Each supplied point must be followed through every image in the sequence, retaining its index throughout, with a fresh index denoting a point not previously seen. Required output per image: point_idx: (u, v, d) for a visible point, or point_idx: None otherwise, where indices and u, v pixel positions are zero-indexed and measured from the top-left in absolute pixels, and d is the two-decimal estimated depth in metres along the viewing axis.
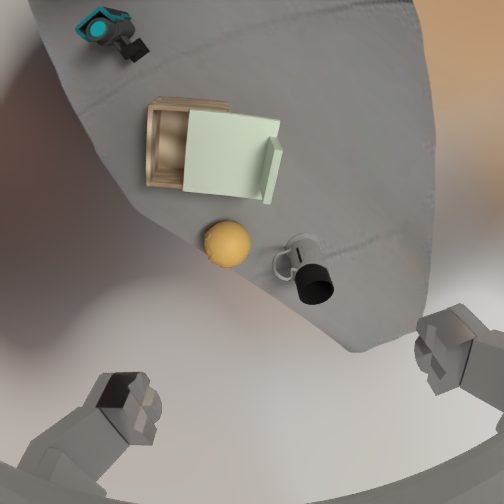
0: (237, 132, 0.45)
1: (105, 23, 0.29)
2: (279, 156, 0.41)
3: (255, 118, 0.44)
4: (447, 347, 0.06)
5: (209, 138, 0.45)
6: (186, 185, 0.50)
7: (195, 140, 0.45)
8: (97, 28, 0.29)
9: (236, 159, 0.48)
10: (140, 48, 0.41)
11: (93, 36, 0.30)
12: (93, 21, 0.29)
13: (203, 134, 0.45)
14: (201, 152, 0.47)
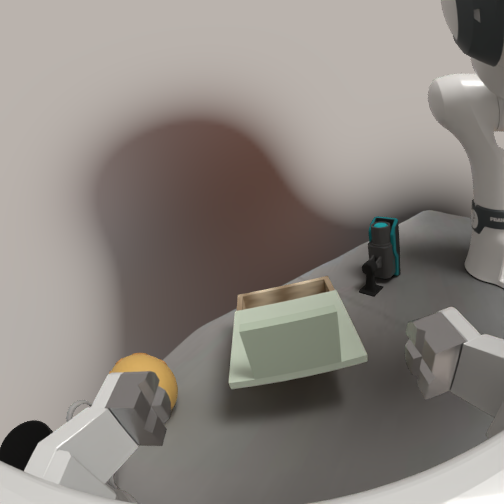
0: None
1: (386, 226, 0.53)
2: (326, 311, 0.26)
3: (355, 333, 0.32)
4: (436, 351, 0.06)
5: None
6: (243, 311, 0.42)
7: (303, 302, 0.40)
8: (381, 224, 0.54)
9: None
10: (374, 287, 0.54)
11: (374, 225, 0.54)
12: (385, 222, 0.54)
13: (312, 305, 0.39)
14: (289, 310, 0.39)
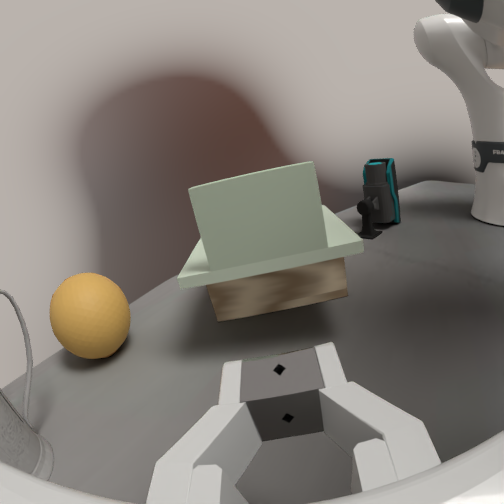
0: None
1: (381, 164, 0.47)
2: (299, 163, 0.20)
3: (346, 226, 0.25)
4: (283, 393, 0.06)
5: None
6: None
7: None
8: (375, 163, 0.48)
9: None
10: (371, 230, 0.48)
11: (368, 164, 0.49)
12: (380, 162, 0.49)
13: None
14: None
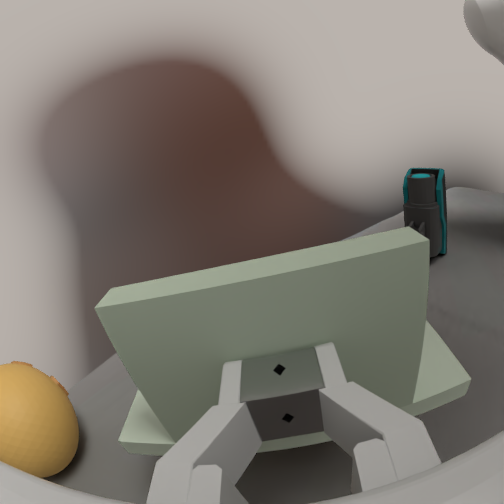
0: None
1: (430, 177, 0.32)
2: (392, 242, 0.07)
3: (429, 327, 0.12)
4: (283, 393, 0.06)
5: None
6: None
7: None
8: (421, 175, 0.33)
9: None
10: None
11: (411, 177, 0.34)
12: (426, 174, 0.34)
13: None
14: None
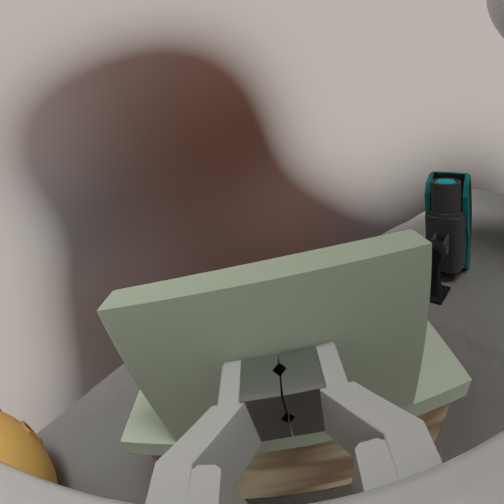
0: None
1: (456, 183, 0.27)
2: (395, 245, 0.07)
3: (430, 327, 0.12)
4: (284, 393, 0.06)
5: None
6: None
7: None
8: (446, 180, 0.28)
9: None
10: (439, 288, 0.28)
11: (435, 182, 0.28)
12: (450, 179, 0.28)
13: None
14: None
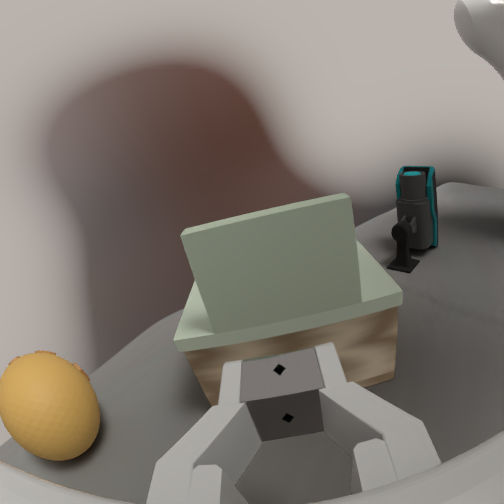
0: None
1: None
2: (331, 198, 0.15)
3: (378, 265, 0.20)
4: (283, 393, 0.06)
5: None
6: None
7: None
8: (412, 172, 0.36)
9: None
10: (408, 260, 0.36)
11: (403, 174, 0.37)
12: (417, 171, 0.37)
13: None
14: None
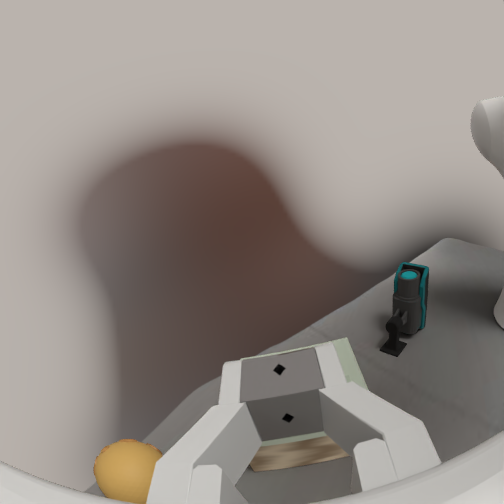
0: None
1: (416, 277, 0.43)
2: None
3: None
4: (283, 393, 0.06)
5: None
6: None
7: None
8: (409, 274, 0.44)
9: None
10: (397, 345, 0.44)
11: (401, 275, 0.45)
12: (413, 270, 0.45)
13: None
14: None
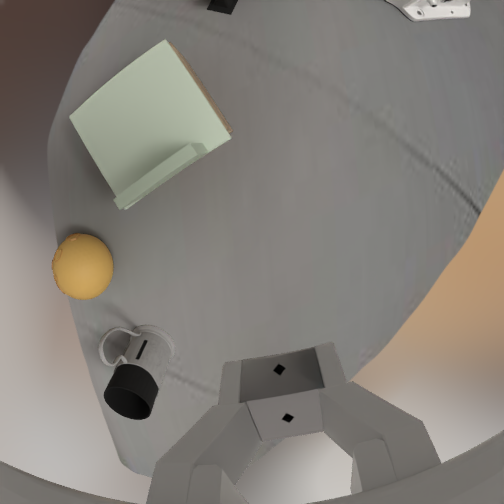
0: (176, 105, 0.28)
1: None
2: (186, 158, 0.24)
3: (210, 108, 0.29)
4: (283, 393, 0.06)
5: (146, 84, 0.27)
6: (77, 113, 0.28)
7: (133, 73, 0.27)
8: None
9: (144, 134, 0.30)
10: (228, 3, 0.30)
11: None
12: None
13: (146, 75, 0.27)
14: (124, 91, 0.28)
